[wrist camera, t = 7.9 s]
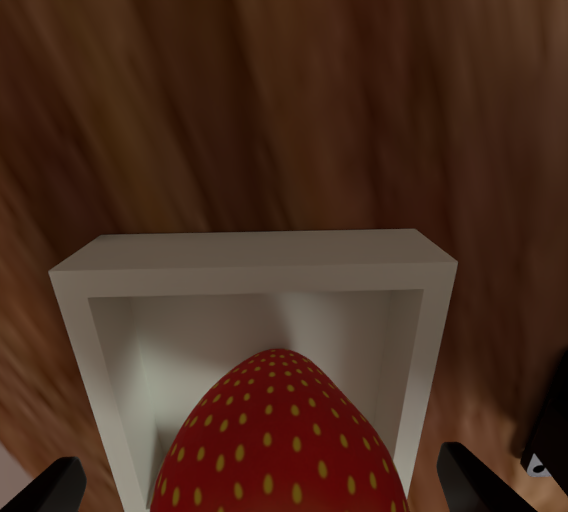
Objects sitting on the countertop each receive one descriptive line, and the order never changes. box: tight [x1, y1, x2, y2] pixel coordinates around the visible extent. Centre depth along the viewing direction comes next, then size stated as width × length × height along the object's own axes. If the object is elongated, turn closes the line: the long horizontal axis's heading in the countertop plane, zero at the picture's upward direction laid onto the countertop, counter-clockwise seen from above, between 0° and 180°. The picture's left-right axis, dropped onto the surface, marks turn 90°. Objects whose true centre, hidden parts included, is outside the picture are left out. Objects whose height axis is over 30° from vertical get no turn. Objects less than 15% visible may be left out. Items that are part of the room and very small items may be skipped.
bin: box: [48, 229, 458, 512], centre depth 11 cm, size 9×9×2 cm
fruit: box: [150, 349, 410, 512], centre depth 7 cm, size 5×5×8 cm
